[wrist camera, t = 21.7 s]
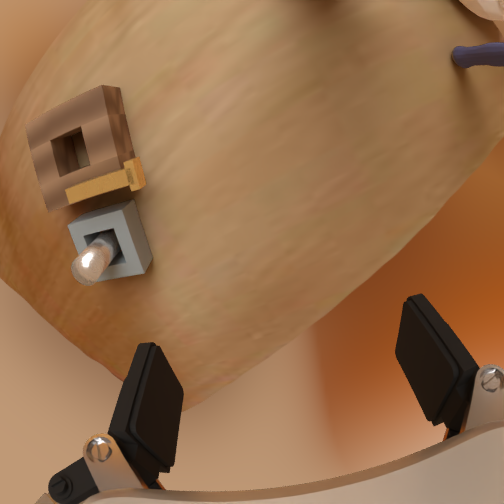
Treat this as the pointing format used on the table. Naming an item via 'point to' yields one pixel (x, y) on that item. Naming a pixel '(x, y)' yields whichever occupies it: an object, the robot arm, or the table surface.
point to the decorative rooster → (486, 8)
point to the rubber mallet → (479, 55)
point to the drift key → (109, 182)
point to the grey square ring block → (128, 234)
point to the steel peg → (96, 258)
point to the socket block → (95, 136)
